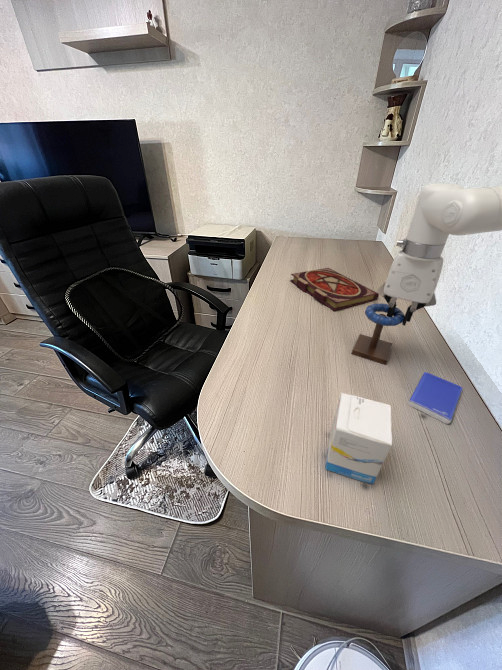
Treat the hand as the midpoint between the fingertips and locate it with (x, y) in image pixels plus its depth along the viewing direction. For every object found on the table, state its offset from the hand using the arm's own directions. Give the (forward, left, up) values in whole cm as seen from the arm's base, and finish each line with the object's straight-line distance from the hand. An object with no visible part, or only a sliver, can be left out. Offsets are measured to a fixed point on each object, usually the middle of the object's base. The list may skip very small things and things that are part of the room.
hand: (397, 320), depth 70 cm
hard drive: (-12, +11, -11) cm, 20 cm away
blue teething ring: (+3, 0, +1) cm, 3 cm away
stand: (+4, 0, -11) cm, 12 cm away
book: (+26, -32, -11) cm, 43 cm away
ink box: (+1, +35, -11) cm, 37 cm away
